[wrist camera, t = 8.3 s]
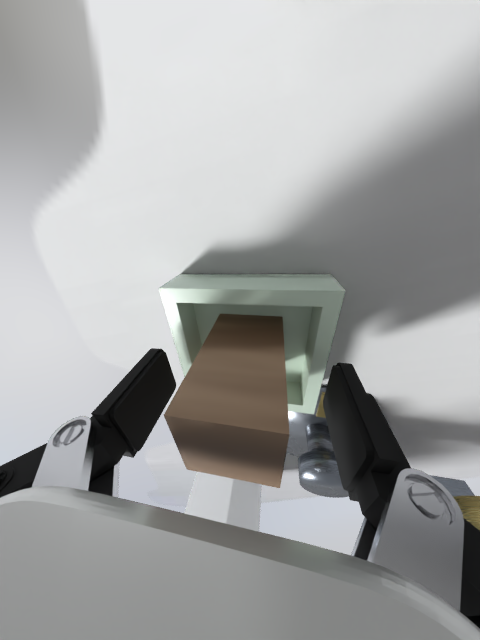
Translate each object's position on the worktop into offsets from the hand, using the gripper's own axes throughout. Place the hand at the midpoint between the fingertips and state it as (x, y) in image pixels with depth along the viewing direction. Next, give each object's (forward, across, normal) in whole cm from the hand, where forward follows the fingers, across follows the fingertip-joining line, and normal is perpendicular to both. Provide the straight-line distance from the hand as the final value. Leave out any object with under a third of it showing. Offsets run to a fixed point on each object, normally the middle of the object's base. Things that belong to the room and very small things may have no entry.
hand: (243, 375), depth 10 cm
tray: (+4, 0, 0) cm, 4 cm away
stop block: (+3, 0, 0) cm, 3 cm away
